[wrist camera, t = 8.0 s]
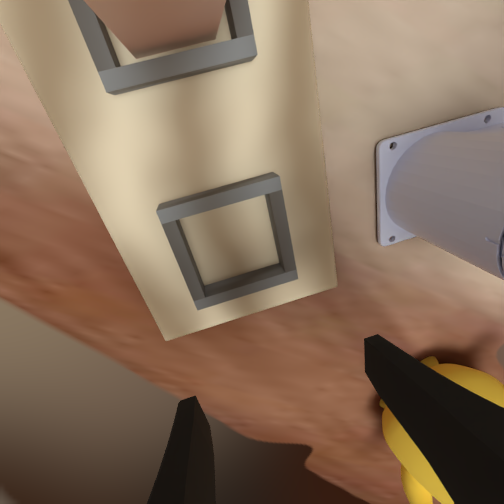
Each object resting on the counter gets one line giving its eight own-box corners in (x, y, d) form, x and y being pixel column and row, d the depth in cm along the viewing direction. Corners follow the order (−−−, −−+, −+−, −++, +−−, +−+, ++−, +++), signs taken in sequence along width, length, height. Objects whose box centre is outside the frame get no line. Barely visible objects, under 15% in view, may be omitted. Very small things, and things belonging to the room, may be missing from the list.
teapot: (325, 435, 32) (393, 595, 21) (450, 311, 27) (624, 439, 16) (393, 453, 38) (476, 590, 27) (509, 352, 33) (671, 470, 22)
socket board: (271, -258, 11) (291, -357, 9) (331, 279, 23) (347, 297, 20) (-102, -197, 10) (-189, -291, 8) (167, 332, 22) (164, 356, 19)
